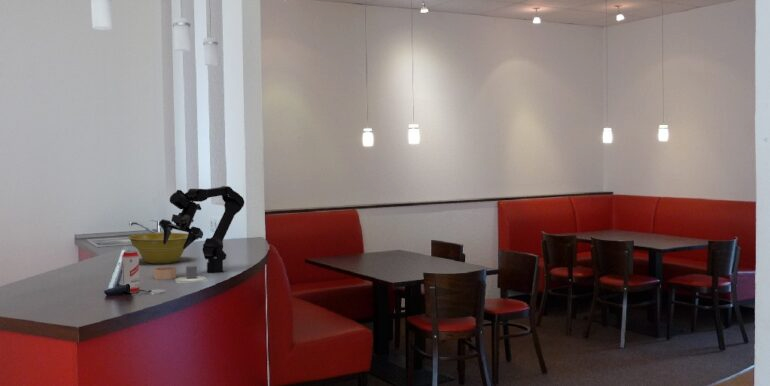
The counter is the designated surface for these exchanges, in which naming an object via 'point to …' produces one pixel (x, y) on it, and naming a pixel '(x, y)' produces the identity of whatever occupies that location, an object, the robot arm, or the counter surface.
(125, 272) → the beer can
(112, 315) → the counter surface
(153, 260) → the planter bowl
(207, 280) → the mat
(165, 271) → the bowl
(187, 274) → the lid
